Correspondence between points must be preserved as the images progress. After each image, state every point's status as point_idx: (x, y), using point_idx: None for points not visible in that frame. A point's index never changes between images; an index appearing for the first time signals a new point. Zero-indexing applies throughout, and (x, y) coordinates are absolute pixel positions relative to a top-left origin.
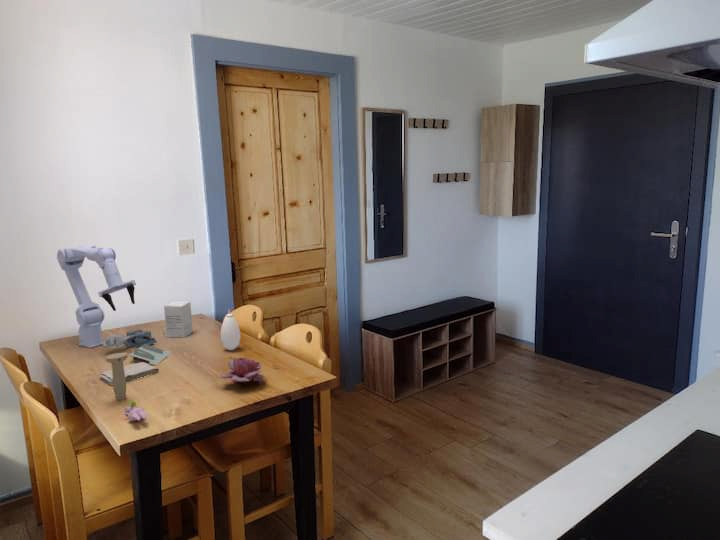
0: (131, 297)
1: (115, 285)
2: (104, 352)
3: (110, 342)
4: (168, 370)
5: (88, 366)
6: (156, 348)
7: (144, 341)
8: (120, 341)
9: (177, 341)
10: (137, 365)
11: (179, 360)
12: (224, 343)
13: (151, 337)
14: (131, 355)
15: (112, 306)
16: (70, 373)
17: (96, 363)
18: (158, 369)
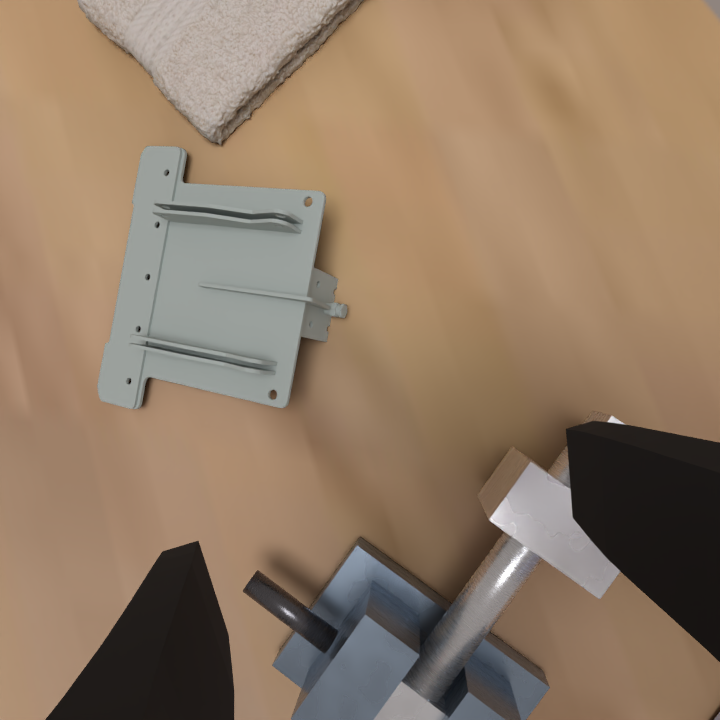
0: (132, 631)
1: None
2: None
3: None
4: (43, 50)
5: (615, 169)
6: (165, 341)
7: (346, 619)
8: (495, 487)
9: None
10: (216, 30)
11: (20, 233)
12: None
13: (267, 602)
14: (306, 190)
15: (642, 437)
16: (688, 33)
17: (581, 228)
18: (79, 2)
